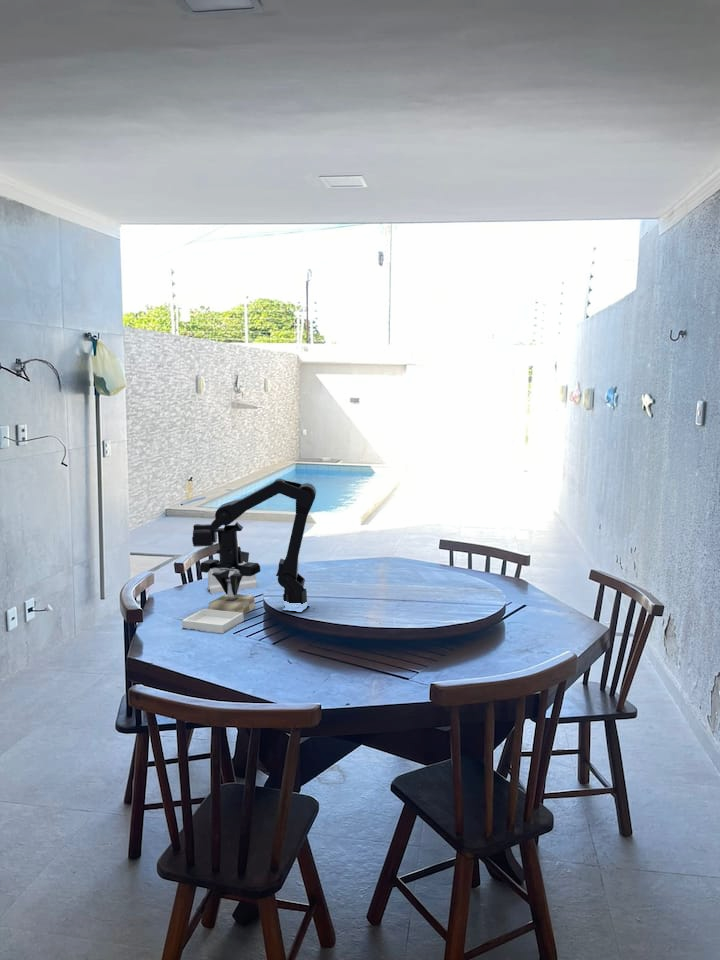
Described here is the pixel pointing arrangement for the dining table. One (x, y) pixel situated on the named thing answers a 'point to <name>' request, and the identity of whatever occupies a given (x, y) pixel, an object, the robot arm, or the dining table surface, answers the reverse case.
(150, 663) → the dining table surface
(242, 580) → the hinge
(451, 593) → the dining table surface
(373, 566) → the dining table surface
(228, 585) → the pin
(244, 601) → the block
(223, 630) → the tray
